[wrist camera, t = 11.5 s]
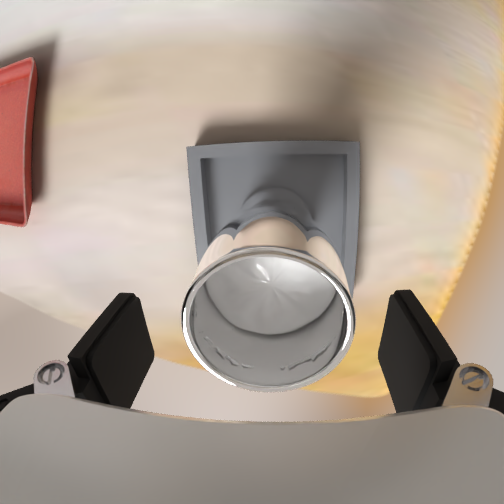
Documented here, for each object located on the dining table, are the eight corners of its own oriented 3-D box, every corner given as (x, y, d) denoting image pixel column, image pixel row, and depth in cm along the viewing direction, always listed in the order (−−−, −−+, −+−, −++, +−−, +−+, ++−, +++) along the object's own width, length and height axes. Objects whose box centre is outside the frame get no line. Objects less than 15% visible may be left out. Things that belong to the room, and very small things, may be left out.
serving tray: (194, 146, 24) (186, 146, 22) (352, 141, 23) (359, 141, 21) (209, 298, 29) (203, 309, 27) (346, 296, 28) (351, 308, 25)
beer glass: (220, 197, 25) (143, 275, 11) (303, 169, 23) (337, 213, 9) (250, 273, 27) (218, 406, 13) (327, 249, 25) (372, 373, 11)
